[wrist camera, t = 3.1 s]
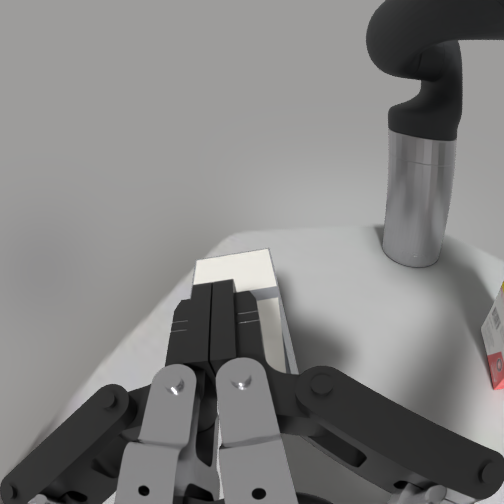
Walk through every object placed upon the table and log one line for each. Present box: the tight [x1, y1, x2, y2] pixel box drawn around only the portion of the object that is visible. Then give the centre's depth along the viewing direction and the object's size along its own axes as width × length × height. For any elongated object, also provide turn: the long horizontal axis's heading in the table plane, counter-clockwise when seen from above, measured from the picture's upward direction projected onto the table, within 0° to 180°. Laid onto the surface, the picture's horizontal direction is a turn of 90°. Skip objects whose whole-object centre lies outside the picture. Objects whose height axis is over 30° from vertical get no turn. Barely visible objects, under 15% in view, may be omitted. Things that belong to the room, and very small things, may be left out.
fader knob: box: [190, 248, 286, 373], centre depth 20 cm, size 4×5×10 cm
